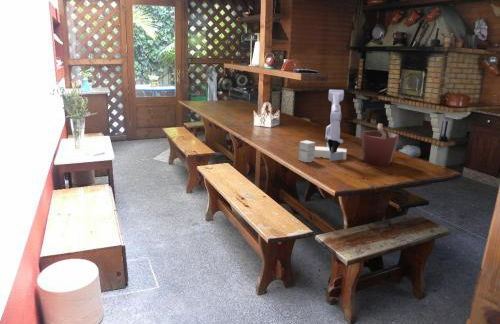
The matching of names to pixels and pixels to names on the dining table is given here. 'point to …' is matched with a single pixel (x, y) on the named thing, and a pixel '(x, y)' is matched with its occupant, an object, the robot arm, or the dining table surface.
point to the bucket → (378, 146)
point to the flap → (335, 155)
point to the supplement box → (306, 151)
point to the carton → (328, 152)
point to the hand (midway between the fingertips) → (332, 151)
